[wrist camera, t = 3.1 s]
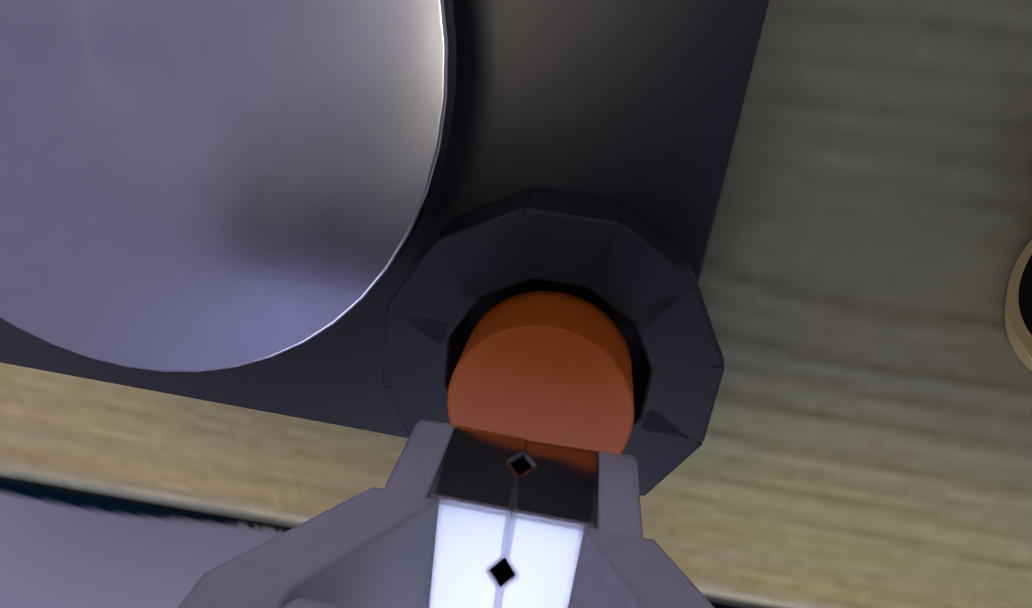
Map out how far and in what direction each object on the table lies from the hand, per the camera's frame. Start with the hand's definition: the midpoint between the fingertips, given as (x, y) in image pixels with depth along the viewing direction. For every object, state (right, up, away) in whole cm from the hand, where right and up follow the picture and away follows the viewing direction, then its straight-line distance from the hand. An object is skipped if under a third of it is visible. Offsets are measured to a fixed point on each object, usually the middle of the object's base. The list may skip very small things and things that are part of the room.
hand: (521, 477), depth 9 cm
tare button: (+1, +1, +3) cm, 3 cm away
